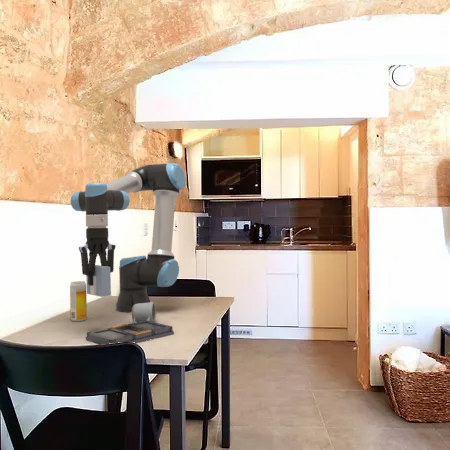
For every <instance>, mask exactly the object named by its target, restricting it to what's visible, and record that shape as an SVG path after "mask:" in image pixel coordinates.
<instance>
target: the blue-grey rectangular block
mask: <svg viewBox="0 0 450 450" xmlns="http://www.w3.org/2000/svg"><path fill="white" fill-rule="evenodd" d="M85 276H86V278H85V279H86V295H91V294H90V286H89V285H88V276H87V275H85ZM94 276H96V295H94V296H95V297H101V298H103V297H105V298H106V297H110V296H112V290H111V289H112V287H111V284H112V283H111V273H110V267H108V266H101V264H100V265H99V264H98V265H97V264H95V270H94Z"/></svg>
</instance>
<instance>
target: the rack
mask: <svg viewBox="0 0 450 450" xmlns="http://www.w3.org/2000/svg"><path fill="white" fill-rule="evenodd" d="M171 335H175V331H174V330H173V326H172V325H168V324H163V323H159V322H156V321H155V322H151V321H142V322H137V323H134V322H133V323H129V324H127V323H123V324H118V325H114V326H110V327H109V328H102V329H99V330H98V329H97V330H94V331H87V332H86V336H85V341H88V342H91V343H94V344H98V345H100V344H109V343H118V342H135V344H138V342H139V343H142V341H143V342H147V341H150V339H152V340H155V339H154V338H156V339H160V338H163V337H167V336H171ZM159 337H160V338H159ZM146 340H147V341H146Z"/></svg>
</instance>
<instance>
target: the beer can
mask: <svg viewBox="0 0 450 450" xmlns="http://www.w3.org/2000/svg"><path fill="white" fill-rule="evenodd" d="M69 293H70V294H69V298H70V299H69V300H70V301H69V302H70V303H69V305H70V306H69V308H70V313H69V314H70V320H71V321H72V322H85V321H86V319H87V317H88V314H87V313H88V311H87V310H88V309H87V307H88V305H87V303H88V302H87V301H88V300H87V282H86V281H85V280H84V281H83V280H78V281H77V280H76V281H72V282H70V285H69Z"/></svg>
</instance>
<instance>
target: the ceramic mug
mask: <svg viewBox="0 0 450 450" xmlns="http://www.w3.org/2000/svg"><path fill="white" fill-rule="evenodd" d="M156 317H157V311H156V304H155V302H154V301H150V303H139V304H135V305H133V307H132V312H131V320H132V322H133V323H137V322H142V321H151V322H155V323H156Z"/></svg>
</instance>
